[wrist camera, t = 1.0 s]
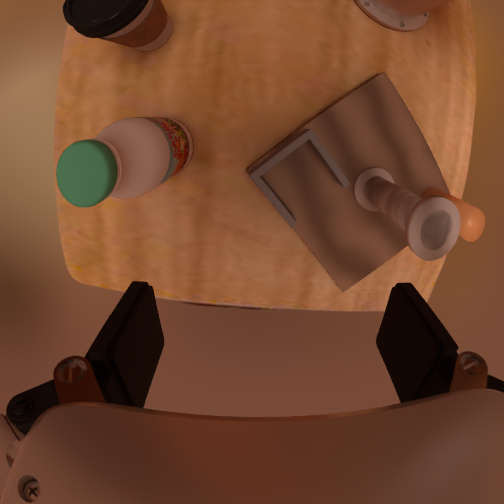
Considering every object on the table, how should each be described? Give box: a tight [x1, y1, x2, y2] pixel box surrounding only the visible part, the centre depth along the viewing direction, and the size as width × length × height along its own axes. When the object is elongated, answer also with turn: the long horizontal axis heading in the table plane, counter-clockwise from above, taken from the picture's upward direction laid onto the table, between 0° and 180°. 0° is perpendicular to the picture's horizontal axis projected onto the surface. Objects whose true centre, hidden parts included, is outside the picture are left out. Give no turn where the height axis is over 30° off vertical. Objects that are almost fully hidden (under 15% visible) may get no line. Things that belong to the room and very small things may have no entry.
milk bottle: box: [56, 117, 193, 207], centre depth 25 cm, size 8×8×20 cm
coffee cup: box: [63, 0, 173, 51], centre depth 20 cm, size 8×8×15 cm
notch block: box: [249, 129, 350, 228], centre depth 32 cm, size 8×8×4 cm
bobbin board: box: [246, 72, 461, 292], centre depth 28 cm, size 22×22×17 cm
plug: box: [421, 187, 485, 242], centre depth 30 cm, size 4×4×10 cm
